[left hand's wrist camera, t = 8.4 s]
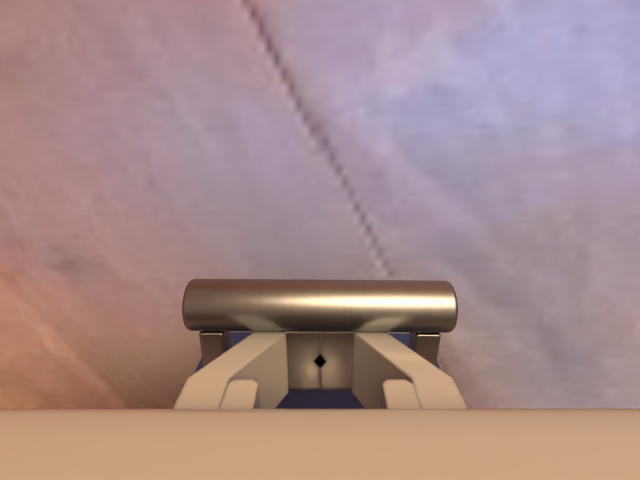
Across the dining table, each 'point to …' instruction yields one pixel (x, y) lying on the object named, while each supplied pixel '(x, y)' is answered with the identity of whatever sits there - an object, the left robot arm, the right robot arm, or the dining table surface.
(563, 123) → the dining table surface
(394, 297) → the drawer
